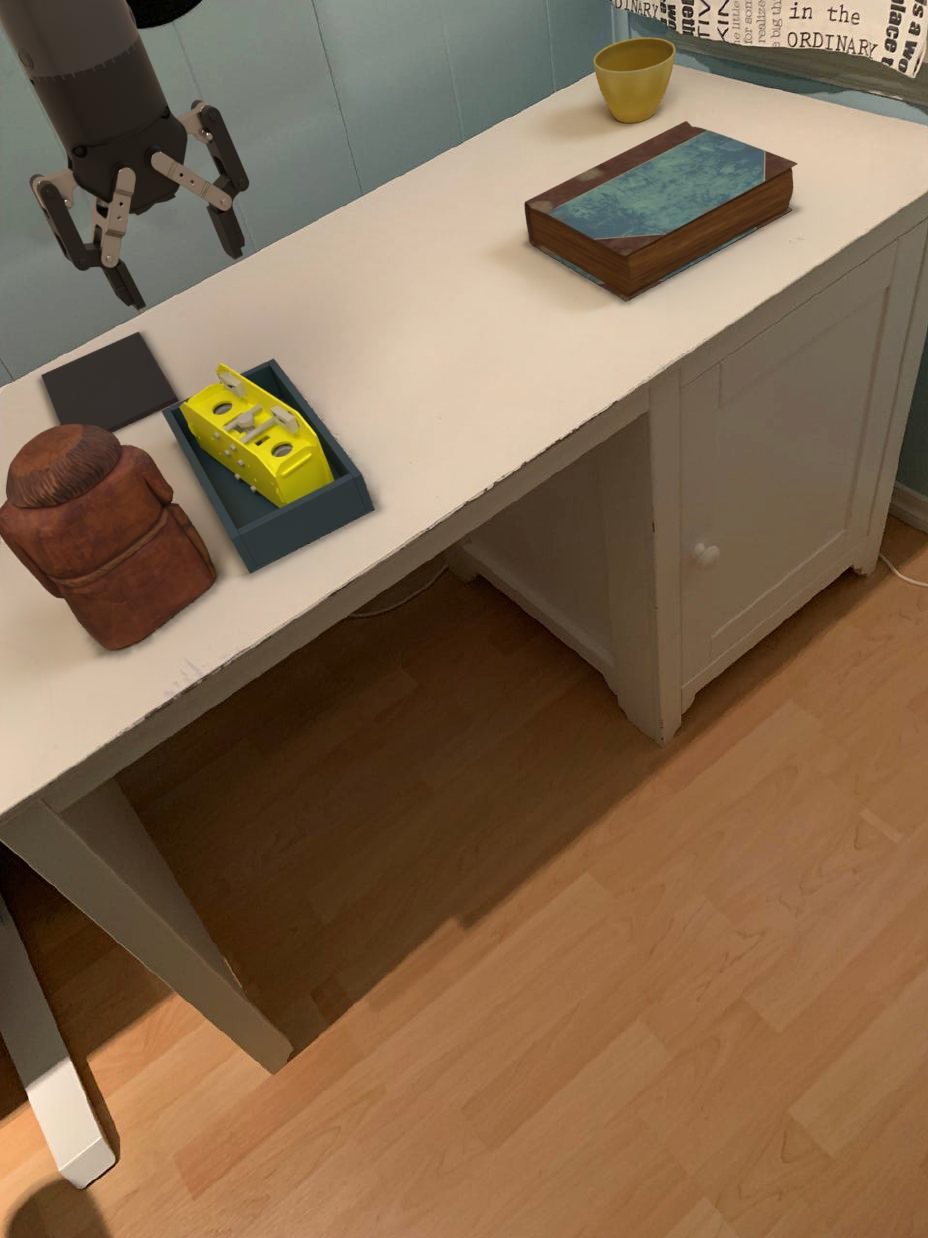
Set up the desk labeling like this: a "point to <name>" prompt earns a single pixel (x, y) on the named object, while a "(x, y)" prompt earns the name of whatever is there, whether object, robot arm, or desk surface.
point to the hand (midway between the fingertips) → (187, 279)
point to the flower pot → (634, 76)
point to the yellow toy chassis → (257, 438)
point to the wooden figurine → (103, 532)
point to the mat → (109, 386)
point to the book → (659, 207)
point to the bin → (253, 516)
